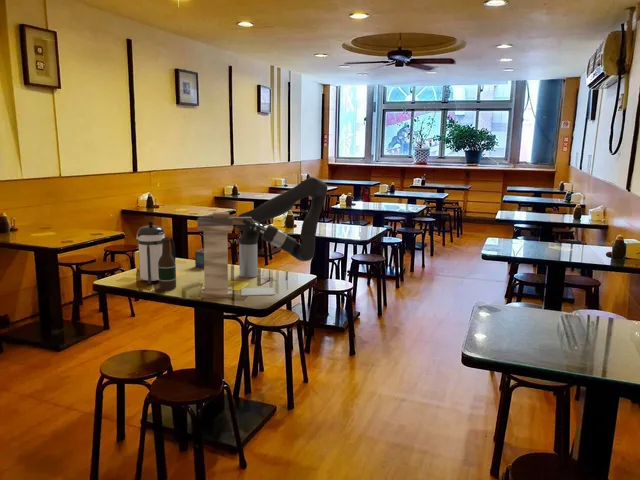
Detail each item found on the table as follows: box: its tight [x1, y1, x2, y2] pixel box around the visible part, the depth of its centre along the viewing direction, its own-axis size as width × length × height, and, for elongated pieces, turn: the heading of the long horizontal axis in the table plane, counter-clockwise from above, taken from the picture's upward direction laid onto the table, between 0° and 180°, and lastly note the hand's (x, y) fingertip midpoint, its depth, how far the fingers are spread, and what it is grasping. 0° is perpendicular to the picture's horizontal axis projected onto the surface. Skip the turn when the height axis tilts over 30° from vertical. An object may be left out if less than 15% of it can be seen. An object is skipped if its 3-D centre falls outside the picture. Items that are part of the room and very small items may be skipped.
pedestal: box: [196, 215, 234, 299], centre depth 223 cm, size 14×15×35 cm
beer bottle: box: [158, 237, 177, 291], centre depth 230 cm, size 8×8×24 cm
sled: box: [212, 211, 252, 226], centre depth 221 cm, size 6×17×5 cm, turn 99°
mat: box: [240, 287, 276, 297], centre depth 229 cm, size 11×15×1 cm
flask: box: [194, 248, 204, 269], centre depth 272 cm, size 9×3×11 cm, turn 63°
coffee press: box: [135, 220, 176, 286], centre depth 243 cm, size 17×16×30 cm
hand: (243, 218), depth 222 cm, fingers open, 8 cm apart
